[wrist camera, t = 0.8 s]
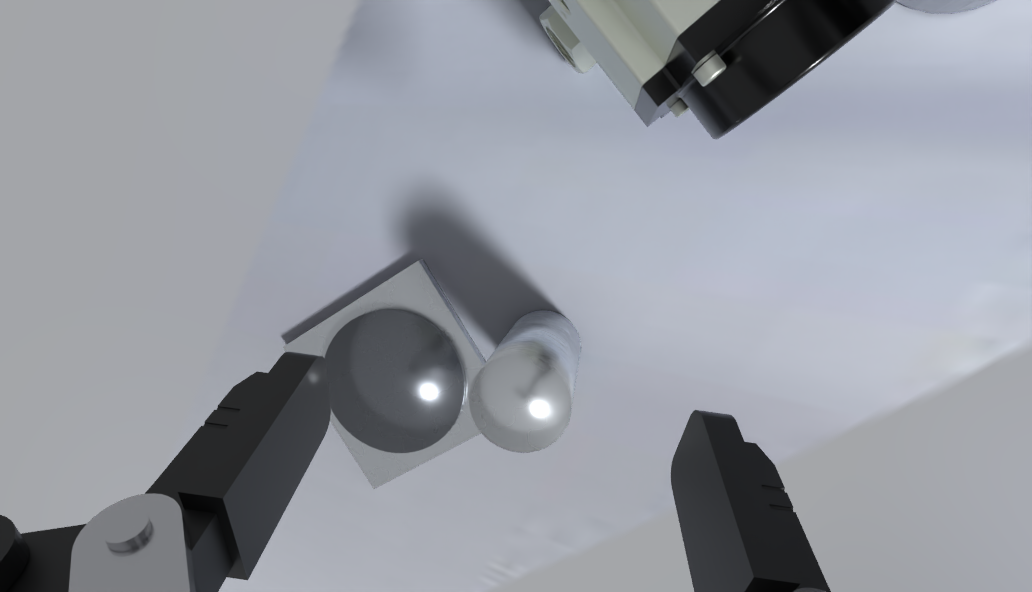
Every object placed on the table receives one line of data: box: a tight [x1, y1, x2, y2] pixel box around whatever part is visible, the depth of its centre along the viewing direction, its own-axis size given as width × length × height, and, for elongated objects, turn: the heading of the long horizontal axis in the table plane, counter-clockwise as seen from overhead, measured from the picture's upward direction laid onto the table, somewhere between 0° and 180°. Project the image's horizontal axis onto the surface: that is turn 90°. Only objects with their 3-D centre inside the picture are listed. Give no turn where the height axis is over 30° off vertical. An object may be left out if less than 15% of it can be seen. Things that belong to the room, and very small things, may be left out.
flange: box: [283, 259, 486, 489], centre depth 35 cm, size 12×12×1 cm
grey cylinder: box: [469, 310, 581, 453], centre depth 28 cm, size 5×5×10 cm
